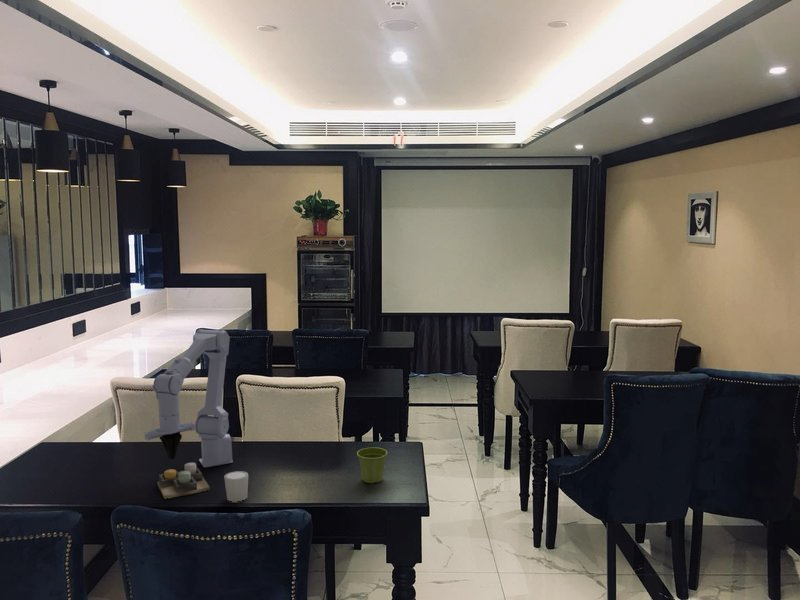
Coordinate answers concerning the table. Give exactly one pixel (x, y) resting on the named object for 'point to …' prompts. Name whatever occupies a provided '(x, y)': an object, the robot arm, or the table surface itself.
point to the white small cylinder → (191, 468)
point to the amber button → (170, 474)
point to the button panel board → (174, 489)
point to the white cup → (236, 485)
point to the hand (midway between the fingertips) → (171, 458)
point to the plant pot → (372, 463)
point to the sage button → (184, 477)
